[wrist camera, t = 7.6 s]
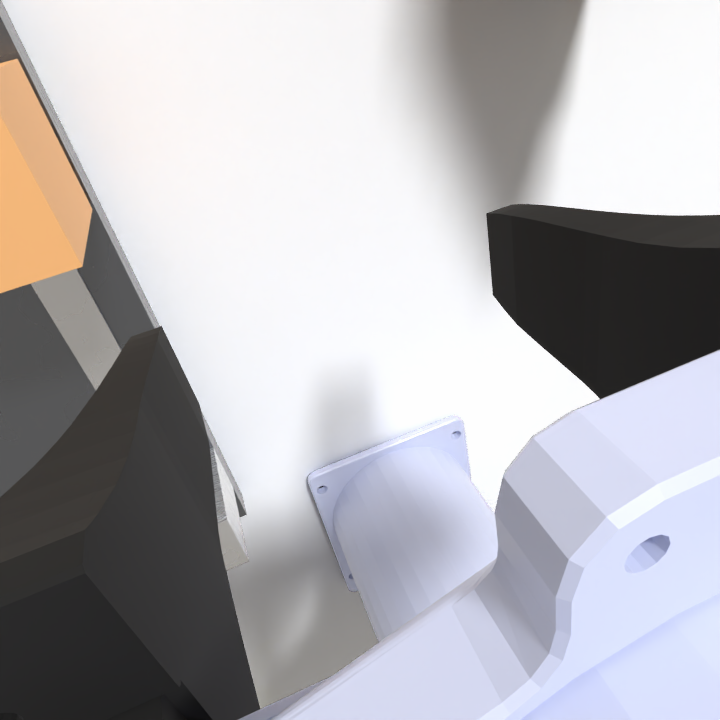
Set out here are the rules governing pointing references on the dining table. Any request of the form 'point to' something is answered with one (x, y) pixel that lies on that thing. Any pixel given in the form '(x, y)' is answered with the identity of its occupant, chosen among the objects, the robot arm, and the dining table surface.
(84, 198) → the orange block with rod
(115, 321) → the bolt plate
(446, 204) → the dining table surface
